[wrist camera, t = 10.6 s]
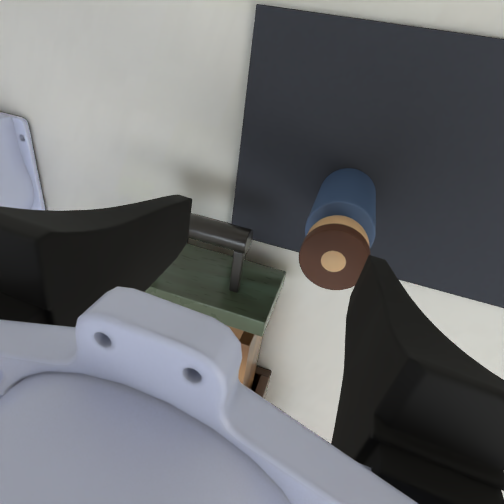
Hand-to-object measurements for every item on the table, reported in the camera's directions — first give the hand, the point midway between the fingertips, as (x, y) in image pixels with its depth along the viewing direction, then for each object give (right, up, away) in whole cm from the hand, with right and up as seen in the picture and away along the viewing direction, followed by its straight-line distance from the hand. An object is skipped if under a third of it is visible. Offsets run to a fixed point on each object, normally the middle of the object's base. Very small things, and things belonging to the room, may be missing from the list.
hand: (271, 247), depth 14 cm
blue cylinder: (+5, +3, +8) cm, 10 cm away
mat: (+8, +5, +7) cm, 12 cm away
